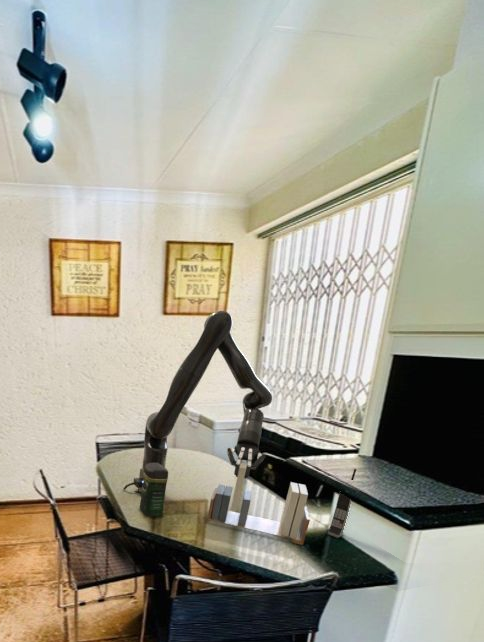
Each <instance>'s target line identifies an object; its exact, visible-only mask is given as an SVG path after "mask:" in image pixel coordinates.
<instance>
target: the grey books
mask: <svg viewBox="0 0 484 642" xmlns="http://www.w3.org/2000/svg"><path fill="white" fill-rule="evenodd" d="M216 488H217V491H216V495H215V500H214V506H213V511H212V516H211V519H214V520H218V518H219V521H223V522H225V521H226V517H227V513H228V511H229V507H230V502H231V497H232V492H233V488H234V487H233V486H230V485H226V484H225V485H224V484H220V483H219V484H218V486H217V487H216ZM252 493H253V492H252V490H250V489H244V491H243V496H242V502H241V506H240V511H239V513H240V516H239V522H238V525H240V526H245V524H246V520H247V515H249V510H250V506H251V501H252ZM219 514H220V515H219Z"/></svg>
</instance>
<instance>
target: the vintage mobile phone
mask: <svg viewBox="0 0 484 642" xmlns="http://www.w3.org/2000/svg"><path fill="white" fill-rule="evenodd" d="M352 472H353V473H352V476H351V478H350V481H351V480H353V481H354V479H355V476H356V473H357V468H354V469H353V471H352ZM350 504H351V499H350V498H348V497H347V496H345V495H344V494H341V493H340V492H339V494H338V497H337V502H336V506H335V509H334V513H333V516H332V519H331V523H330V527H329V528H328V530H327V535H329V536H331V537H334V538H335V539H339V538H340V537H341V536H342V535H343V534H344V532H343V530H344V531H345V529H344V526H345V523H346V519H347V516H348V512H349V508H350ZM348 517H349V516H348ZM347 520H348V519H347ZM346 524H347V523H346ZM345 527H346V526H345Z"/></svg>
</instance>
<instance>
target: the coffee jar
mask: <svg viewBox="0 0 484 642" xmlns="http://www.w3.org/2000/svg"><path fill="white" fill-rule="evenodd" d="M168 479H169V470H168V469H167V468H166V466H165V467H163V466H162V465H160V464H159V463H148V464H147V465H145V468H144V479H143V487H142V493H140V494H141V495H140V501H139V510H140V512H141V513H142V514H143V516H145V517H148V518H149V517H150V518H159V517H162V516H163V515H164V507H165V500H166V499H165V498H166V491H167V490H166V489H167V484H168Z"/></svg>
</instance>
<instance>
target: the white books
mask: <svg viewBox="0 0 484 642" xmlns="http://www.w3.org/2000/svg"><path fill="white" fill-rule="evenodd" d="M308 496H309V493H308V489H307V486H306V484H302V483H297V482H292V481H290V483H289V487H288V491H287V495H286V499H285V503H284V506H283V510H282V515H281V519H280V521H279V522H280V524H281V535H284V536H288V535H289V537H293V538H297V534H298V531H299V527H300V523H301V519H302V516H303V512H304V508H305V506H307V505H306V504H307V500H308Z"/></svg>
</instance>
